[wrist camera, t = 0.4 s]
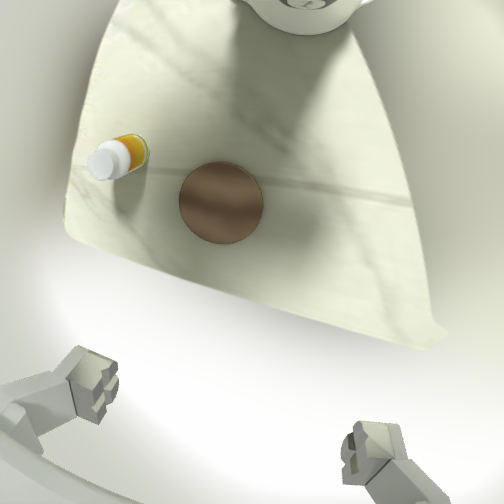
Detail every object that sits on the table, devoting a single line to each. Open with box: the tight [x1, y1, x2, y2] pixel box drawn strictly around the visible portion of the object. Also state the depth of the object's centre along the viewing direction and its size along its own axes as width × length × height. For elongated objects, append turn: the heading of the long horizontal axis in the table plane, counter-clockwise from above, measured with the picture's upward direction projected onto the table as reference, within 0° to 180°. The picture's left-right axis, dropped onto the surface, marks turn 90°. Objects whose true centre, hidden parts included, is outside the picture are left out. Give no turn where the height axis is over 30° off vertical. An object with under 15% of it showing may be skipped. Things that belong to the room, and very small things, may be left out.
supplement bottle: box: [88, 133, 149, 180], centre depth 40 cm, size 5×5×10 cm
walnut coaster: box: [179, 162, 263, 244], centre depth 46 cm, size 12×12×1 cm
